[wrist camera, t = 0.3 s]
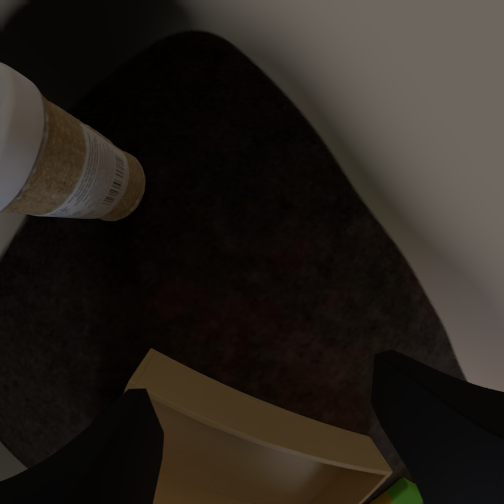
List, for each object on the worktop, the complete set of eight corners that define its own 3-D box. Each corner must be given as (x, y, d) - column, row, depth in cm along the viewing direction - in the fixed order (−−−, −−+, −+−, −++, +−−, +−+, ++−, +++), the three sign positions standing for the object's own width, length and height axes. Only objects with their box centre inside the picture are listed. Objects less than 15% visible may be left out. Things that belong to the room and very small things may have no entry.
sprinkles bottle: (107, 141, 18) (-31, 46, 4) (161, 172, 18) (38, 74, 5) (73, 201, 18) (-91, 177, 5) (124, 236, 18) (-41, 248, 5)
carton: (298, 512, 21) (307, 549, 16) (107, 446, 19) (87, 483, 14) (369, 436, 20) (393, 471, 16) (151, 347, 19) (128, 380, 14)
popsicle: (331, 526, 21) (335, 538, 19) (444, 434, 21) (454, 443, 19) (360, 534, 22) (364, 544, 20) (462, 449, 22) (471, 457, 20)
